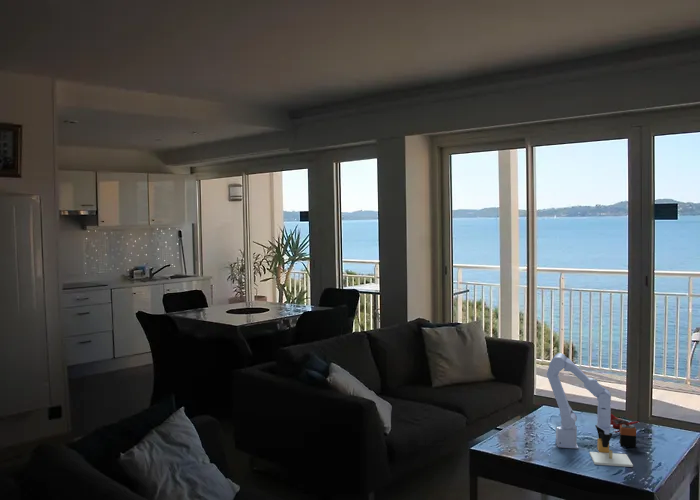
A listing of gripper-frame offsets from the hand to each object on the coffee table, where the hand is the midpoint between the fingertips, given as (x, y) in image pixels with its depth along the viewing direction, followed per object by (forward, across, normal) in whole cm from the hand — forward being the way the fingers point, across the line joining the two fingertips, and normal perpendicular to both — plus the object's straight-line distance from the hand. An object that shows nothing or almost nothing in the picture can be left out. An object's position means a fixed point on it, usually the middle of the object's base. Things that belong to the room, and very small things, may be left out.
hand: (603, 444), depth 292 cm
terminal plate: (+3, -11, -1) cm, 12 cm away
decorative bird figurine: (+3, +26, -14) cm, 30 cm away
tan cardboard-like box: (+3, 0, 0) cm, 3 cm away
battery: (+4, +9, -13) cm, 16 cm away
